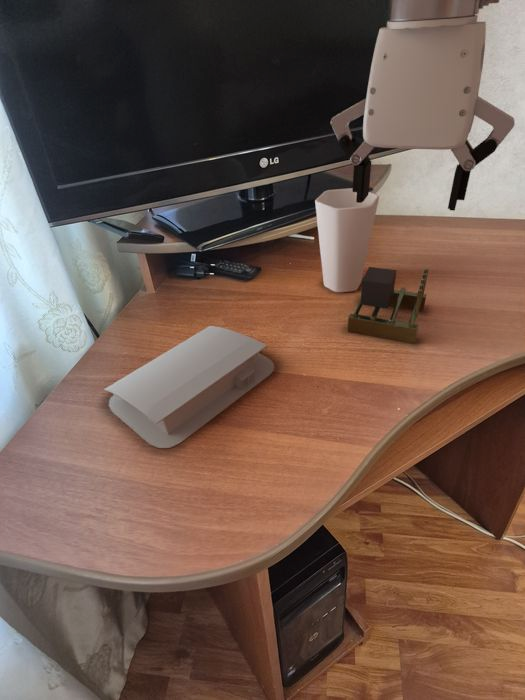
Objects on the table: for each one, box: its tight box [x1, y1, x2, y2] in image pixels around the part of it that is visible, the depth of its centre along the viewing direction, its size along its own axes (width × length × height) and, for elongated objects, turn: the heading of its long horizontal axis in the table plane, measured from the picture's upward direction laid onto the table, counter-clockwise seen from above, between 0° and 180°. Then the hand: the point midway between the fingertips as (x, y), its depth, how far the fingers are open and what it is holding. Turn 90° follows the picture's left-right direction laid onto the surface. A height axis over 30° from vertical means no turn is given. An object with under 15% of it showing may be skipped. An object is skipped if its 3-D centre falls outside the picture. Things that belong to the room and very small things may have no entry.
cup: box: [314, 187, 380, 293], centre depth 82 cm, size 11×10×17 cm
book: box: [104, 325, 275, 449], centre depth 65 cm, size 15×23×4 cm, turn 137°
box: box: [360, 266, 397, 309], centre depth 73 cm, size 5×5×5 cm
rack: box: [347, 267, 429, 345], centre depth 74 cm, size 11×11×9 cm
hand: (405, 202), depth 48 cm, fingers open, 9 cm apart
